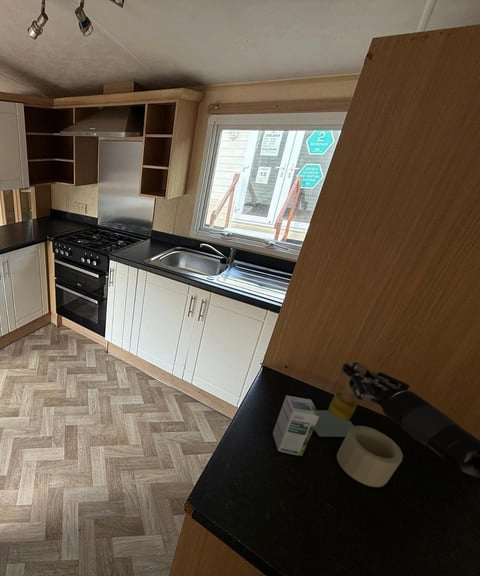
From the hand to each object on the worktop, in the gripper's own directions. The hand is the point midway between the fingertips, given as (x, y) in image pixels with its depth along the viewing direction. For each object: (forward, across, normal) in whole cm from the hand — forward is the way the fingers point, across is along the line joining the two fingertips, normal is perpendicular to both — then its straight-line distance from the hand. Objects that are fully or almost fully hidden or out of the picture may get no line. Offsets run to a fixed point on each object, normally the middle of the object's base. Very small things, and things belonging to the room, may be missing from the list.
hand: (348, 365), depth 81 cm
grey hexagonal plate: (-2, 0, +20) cm, 20 cm away
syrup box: (-6, +17, +20) cm, 27 cm away
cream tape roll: (-14, +3, +20) cm, 25 cm away
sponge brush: (-3, 0, +14) cm, 14 cm away
